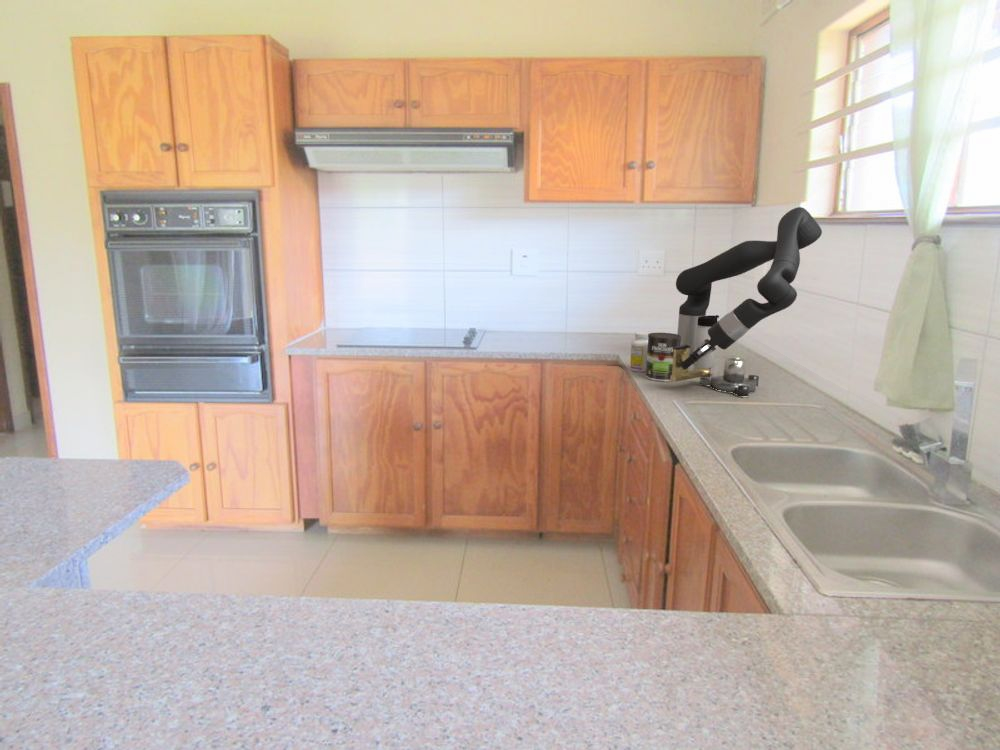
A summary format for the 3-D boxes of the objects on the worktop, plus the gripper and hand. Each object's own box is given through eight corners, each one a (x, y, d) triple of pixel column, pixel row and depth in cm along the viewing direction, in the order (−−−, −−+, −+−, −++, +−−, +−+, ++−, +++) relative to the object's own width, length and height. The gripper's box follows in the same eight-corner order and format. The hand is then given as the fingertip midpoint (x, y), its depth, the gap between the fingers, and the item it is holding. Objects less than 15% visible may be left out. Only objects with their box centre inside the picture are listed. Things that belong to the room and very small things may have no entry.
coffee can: (676, 383, 207) (679, 338, 204) (643, 380, 211) (646, 336, 208) (679, 376, 217) (682, 333, 214) (647, 373, 220) (650, 331, 217)
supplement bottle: (645, 368, 228) (647, 331, 225) (653, 372, 222) (655, 334, 219) (627, 368, 227) (629, 331, 224) (634, 372, 220) (636, 334, 217)
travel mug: (714, 378, 215) (720, 316, 210) (693, 376, 216) (698, 316, 212) (712, 373, 221) (718, 314, 216) (692, 372, 222) (697, 313, 218)
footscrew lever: (702, 372, 208) (704, 340, 206) (713, 375, 205) (716, 342, 203) (666, 379, 199) (669, 346, 196) (678, 382, 195) (681, 348, 193)
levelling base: (706, 378, 214) (709, 348, 212) (760, 385, 206) (763, 354, 204) (691, 390, 199) (694, 358, 197) (748, 398, 191) (752, 365, 188)
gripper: (733, 343, 182) (685, 381, 190) (742, 336, 193) (696, 372, 201) (714, 322, 183) (668, 361, 192) (724, 317, 194) (680, 353, 203)
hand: (682, 367), depth 197 cm, fingers closed
